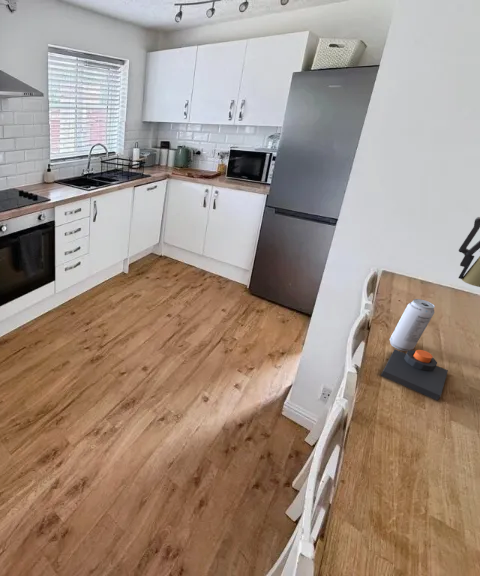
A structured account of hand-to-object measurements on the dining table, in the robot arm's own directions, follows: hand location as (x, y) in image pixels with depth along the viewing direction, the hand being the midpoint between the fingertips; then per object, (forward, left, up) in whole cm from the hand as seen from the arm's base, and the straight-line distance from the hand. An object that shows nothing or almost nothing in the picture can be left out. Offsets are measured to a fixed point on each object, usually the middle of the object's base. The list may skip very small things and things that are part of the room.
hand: (476, 281), depth 104 cm
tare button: (+3, +23, -17) cm, 29 cm away
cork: (0, 0, -1) cm, 1 cm away
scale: (+3, +27, -20) cm, 34 cm away
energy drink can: (+8, +14, -21) cm, 26 cm away
